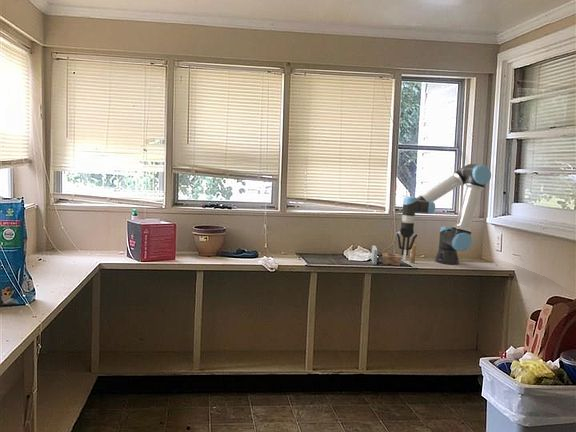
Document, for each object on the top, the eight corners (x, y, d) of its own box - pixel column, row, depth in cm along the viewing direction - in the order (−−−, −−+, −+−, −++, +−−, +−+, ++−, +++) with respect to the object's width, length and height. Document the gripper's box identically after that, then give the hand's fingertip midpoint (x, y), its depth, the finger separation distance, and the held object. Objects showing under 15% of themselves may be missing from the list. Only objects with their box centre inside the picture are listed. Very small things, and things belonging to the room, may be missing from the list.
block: (398, 262, 376) (398, 254, 376) (400, 265, 366) (400, 257, 366) (381, 261, 377) (382, 253, 376) (383, 264, 367) (384, 255, 366)
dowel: (414, 262, 380) (416, 242, 379) (414, 263, 377) (416, 242, 375) (409, 262, 380) (410, 241, 379) (409, 263, 377) (411, 242, 376)
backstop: (374, 259, 380) (375, 245, 379) (376, 264, 364) (377, 250, 363) (370, 259, 380) (372, 245, 379) (373, 264, 364) (374, 249, 363)
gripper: (417, 222, 371) (413, 260, 374) (396, 220, 372) (392, 258, 375) (419, 223, 364) (415, 262, 367) (397, 222, 365) (394, 260, 367)
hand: (404, 260), depth 371 cm, fingers closed
